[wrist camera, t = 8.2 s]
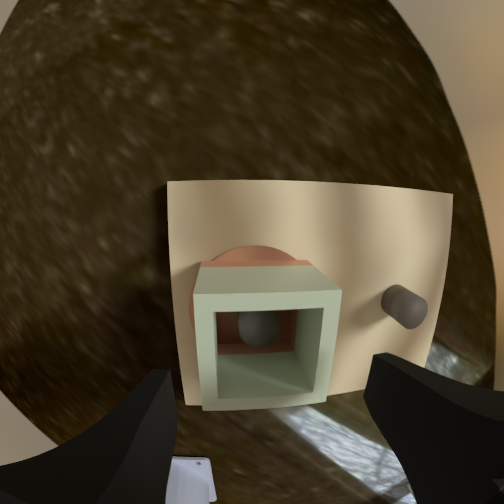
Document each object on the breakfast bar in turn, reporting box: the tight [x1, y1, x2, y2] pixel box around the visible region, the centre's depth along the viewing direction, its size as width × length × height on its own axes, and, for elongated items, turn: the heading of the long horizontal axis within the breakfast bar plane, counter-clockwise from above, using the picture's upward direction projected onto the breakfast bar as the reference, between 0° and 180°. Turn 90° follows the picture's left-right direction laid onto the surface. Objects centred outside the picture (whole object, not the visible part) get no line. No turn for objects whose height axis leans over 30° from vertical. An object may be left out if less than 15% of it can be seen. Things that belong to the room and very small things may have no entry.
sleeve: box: [193, 260, 342, 411], centre depth 14 cm, size 6×6×5 cm
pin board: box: [167, 180, 453, 405], centre depth 16 cm, size 18×14×4 cm
